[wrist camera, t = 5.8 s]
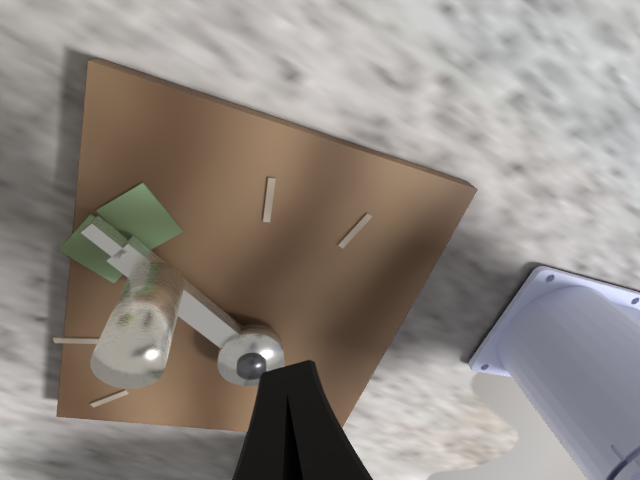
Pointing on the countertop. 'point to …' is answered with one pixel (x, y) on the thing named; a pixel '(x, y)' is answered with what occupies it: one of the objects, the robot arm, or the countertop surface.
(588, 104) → the countertop surface
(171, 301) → the needle
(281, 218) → the dial board
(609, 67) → the countertop surface
